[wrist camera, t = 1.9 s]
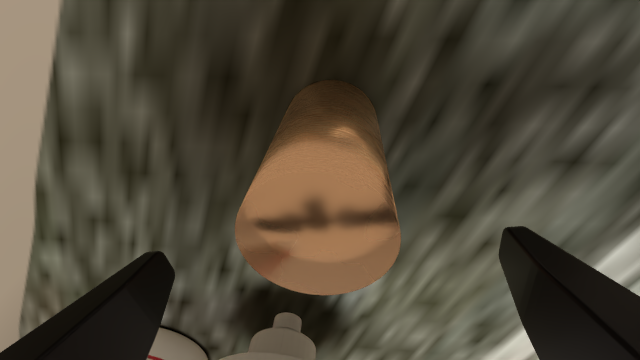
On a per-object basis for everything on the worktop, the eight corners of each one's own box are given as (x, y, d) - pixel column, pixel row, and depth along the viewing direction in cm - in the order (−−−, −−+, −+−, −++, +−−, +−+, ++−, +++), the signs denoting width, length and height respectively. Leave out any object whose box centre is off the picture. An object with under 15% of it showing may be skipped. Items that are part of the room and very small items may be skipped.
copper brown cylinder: (373, 72, 14) (398, 162, 7) (380, 161, 16) (403, 292, 9) (275, 87, 14) (210, 182, 8) (296, 170, 17) (260, 298, 10)
